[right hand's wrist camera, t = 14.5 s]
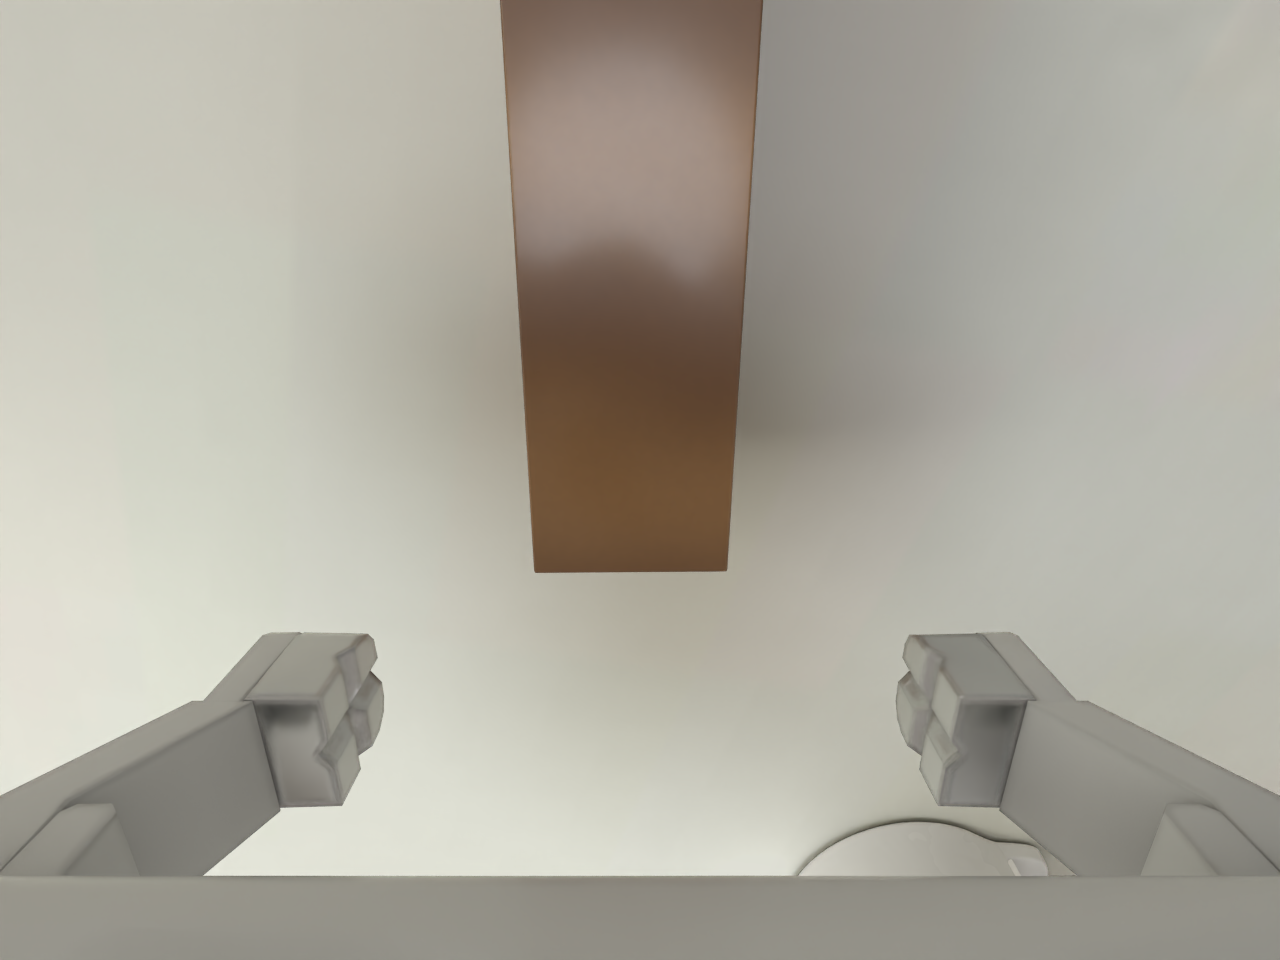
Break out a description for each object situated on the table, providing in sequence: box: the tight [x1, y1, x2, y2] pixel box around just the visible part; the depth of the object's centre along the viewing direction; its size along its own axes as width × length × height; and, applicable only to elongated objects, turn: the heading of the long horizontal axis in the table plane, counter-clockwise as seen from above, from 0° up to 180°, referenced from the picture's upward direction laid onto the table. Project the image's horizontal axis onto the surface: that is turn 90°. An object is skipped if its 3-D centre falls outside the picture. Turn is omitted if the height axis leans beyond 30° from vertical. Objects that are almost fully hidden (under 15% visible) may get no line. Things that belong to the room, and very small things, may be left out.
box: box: [500, 0, 763, 573], centre depth 21 cm, size 27×6×12 cm, turn 0°
